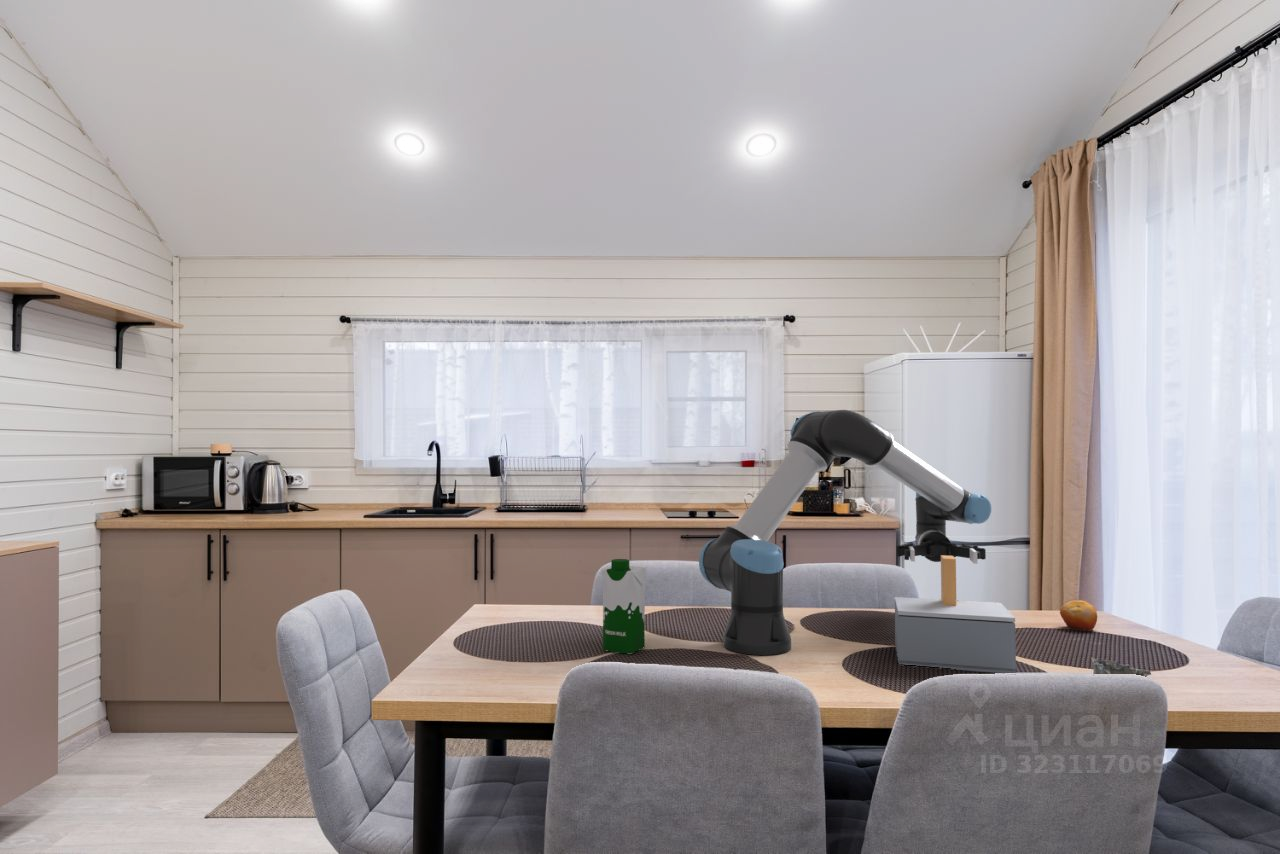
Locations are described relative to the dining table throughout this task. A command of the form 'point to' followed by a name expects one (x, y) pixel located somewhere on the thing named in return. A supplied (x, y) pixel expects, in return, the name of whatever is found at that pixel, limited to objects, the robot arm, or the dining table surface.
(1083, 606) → the fruit
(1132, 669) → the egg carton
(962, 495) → the robot arm
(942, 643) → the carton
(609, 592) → the milk carton
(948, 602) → the box lid with handle
